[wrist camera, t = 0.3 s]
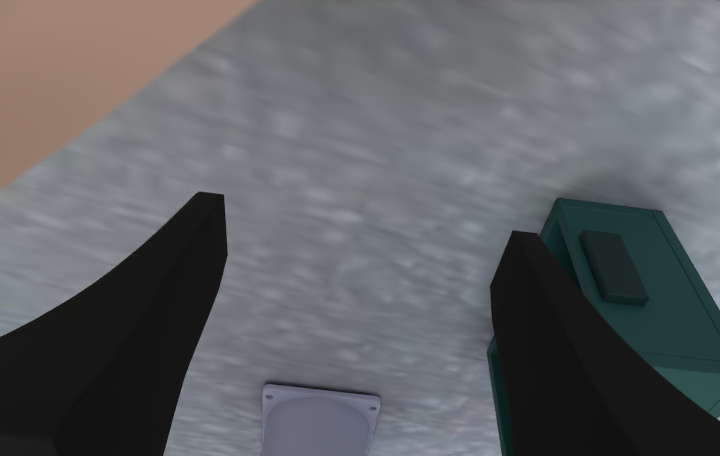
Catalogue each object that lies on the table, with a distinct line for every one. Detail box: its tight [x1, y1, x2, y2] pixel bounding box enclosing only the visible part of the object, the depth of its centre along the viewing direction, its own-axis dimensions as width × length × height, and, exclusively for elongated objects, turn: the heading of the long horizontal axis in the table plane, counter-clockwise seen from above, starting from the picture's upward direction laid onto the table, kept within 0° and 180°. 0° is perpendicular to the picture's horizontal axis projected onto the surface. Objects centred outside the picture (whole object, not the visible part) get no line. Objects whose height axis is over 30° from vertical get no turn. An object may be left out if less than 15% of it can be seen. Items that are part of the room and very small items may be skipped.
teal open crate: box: [487, 198, 720, 456], centre depth 26 cm, size 13×5×9 cm, turn 173°
